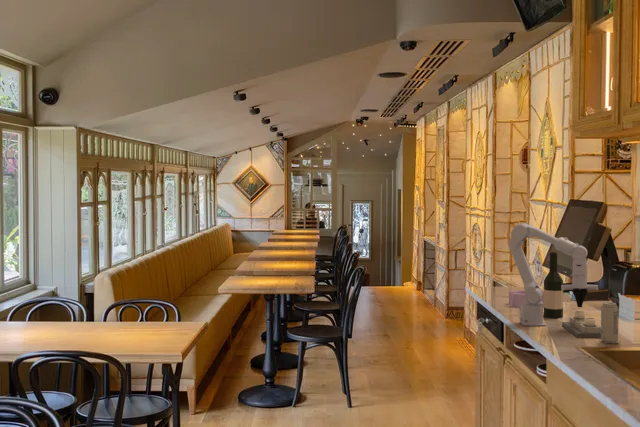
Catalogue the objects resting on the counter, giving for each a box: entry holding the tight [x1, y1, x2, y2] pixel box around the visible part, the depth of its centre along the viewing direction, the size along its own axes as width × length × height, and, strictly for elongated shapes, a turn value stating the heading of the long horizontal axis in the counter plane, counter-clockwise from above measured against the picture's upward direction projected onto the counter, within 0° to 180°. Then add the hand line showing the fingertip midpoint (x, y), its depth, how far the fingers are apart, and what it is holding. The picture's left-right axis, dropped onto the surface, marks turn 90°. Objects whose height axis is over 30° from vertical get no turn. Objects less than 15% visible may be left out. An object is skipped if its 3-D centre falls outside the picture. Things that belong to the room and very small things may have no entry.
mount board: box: [561, 316, 601, 339], centre depth 275 cm, size 12×22×4 cm, turn 175°
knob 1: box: [573, 310, 586, 319], centre depth 282 cm, size 4×4×3 cm
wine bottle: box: [543, 250, 564, 319], centre depth 305 cm, size 8×8×30 cm
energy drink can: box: [600, 301, 619, 344], centre depth 257 cm, size 6×6×15 cm
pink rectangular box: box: [508, 289, 544, 309], centre depth 332 cm, size 20×12×7 cm, turn 80°
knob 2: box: [585, 317, 596, 326], centre depth 268 cm, size 4×4×3 cm
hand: (579, 306), depth 282 cm, fingers closed
